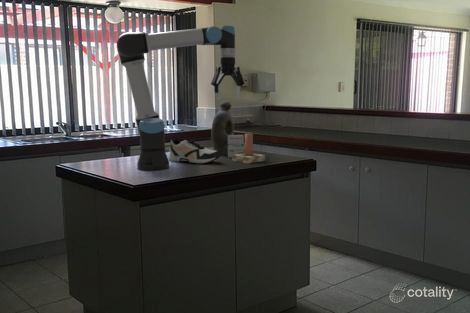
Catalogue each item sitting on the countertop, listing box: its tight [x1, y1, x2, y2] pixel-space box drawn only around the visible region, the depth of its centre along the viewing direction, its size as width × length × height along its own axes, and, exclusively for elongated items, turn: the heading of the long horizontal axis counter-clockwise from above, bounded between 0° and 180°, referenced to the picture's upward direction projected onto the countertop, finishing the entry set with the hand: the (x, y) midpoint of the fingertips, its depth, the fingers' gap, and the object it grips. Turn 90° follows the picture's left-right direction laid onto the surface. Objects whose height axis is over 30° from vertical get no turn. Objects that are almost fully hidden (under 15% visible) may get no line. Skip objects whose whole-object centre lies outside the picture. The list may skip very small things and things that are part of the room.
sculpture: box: [210, 100, 235, 156], centre depth 271 cm, size 11×14×30 cm
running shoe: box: [167, 137, 221, 165], centre depth 246 cm, size 11×30×12 cm, turn 66°
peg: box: [244, 133, 254, 156], centre depth 246 cm, size 4×4×14 cm
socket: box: [231, 152, 266, 164], centre depth 247 cm, size 12×12×3 cm
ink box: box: [227, 134, 245, 158], centre depth 261 cm, size 9×5×12 cm, turn 84°
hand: (228, 99), depth 247 cm, fingers open, 13 cm apart
